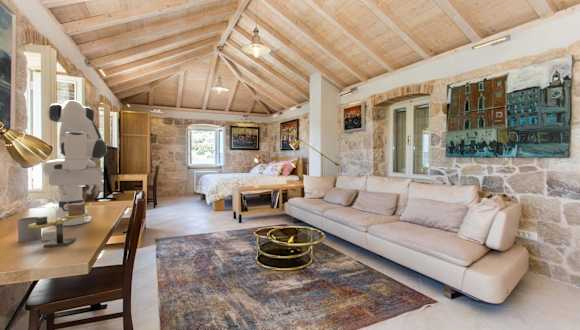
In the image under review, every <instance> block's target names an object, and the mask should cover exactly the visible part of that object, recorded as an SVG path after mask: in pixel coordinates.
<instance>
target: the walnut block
mask: <svg viewBox="0 0 580 330" xmlns="http://www.w3.org/2000/svg"><path fill="white" fill-rule="evenodd" d="M85 208H86V203H85V202H84V203H72V204H70V205H68V215H69V216H73V215H82V214H84V213H85Z"/></svg>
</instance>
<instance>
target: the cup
mask: <svg viewBox="0 0 580 330" xmlns="http://www.w3.org/2000/svg"><path fill="white" fill-rule="evenodd" d="M37 217H38V216H30V217H23V218H19V219H17V233H18V234H17V236H18V237H17V241H18V242H31V241H35V240H39V239H41V238H42V228H28V225H30V224H33V223H36V218H37Z"/></svg>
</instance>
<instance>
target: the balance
mask: <svg viewBox="0 0 580 330" xmlns="http://www.w3.org/2000/svg"><path fill="white" fill-rule="evenodd" d="M85 216H90V215H89V212H87V213H84V214H82V215H73V216H69V215H68V214H67V215H65V218H68V219H64V220H63V219H57V220H56V222H55V221H48V216H36V217H37V218H36V223H33V224H30V225H28V228H41V229H43V228H48V227H51V226H52V227H53V226H55V224H56V227H55V229H56V239H52V240H48V242H46V243H44V244H43V246H42V247H43V248H45V249H46V248H55V247H66V246H67V247H68V246H69V245H71V244H72V243H74V242H75V241H76V237H67V238H64V226H63V223H64V222H66V221H70V220H73V219H77V218H79V217H85Z"/></svg>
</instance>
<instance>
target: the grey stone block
mask: <svg viewBox="0 0 580 330" xmlns="http://www.w3.org/2000/svg"><path fill="white" fill-rule="evenodd" d="M41 238H42V242H43V241H51V240H52V239H57V237H56V228H55V229H48V230H42V232H41Z"/></svg>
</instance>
